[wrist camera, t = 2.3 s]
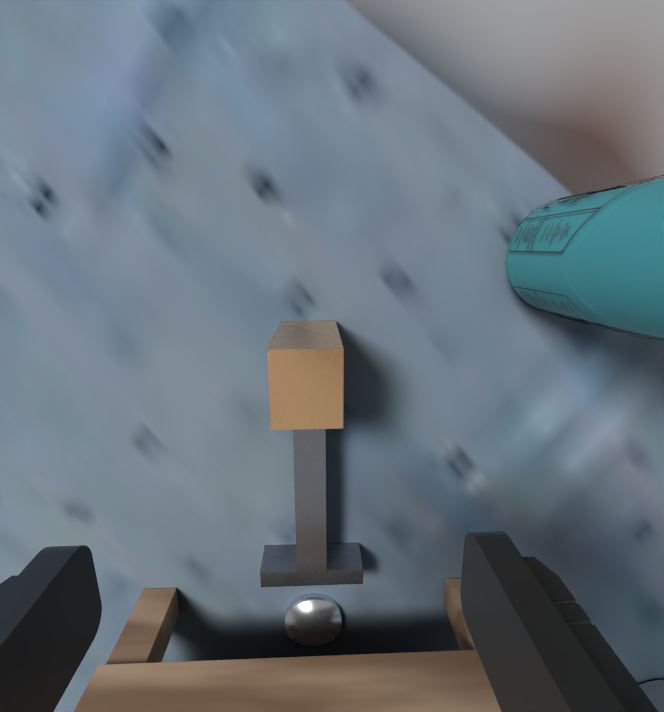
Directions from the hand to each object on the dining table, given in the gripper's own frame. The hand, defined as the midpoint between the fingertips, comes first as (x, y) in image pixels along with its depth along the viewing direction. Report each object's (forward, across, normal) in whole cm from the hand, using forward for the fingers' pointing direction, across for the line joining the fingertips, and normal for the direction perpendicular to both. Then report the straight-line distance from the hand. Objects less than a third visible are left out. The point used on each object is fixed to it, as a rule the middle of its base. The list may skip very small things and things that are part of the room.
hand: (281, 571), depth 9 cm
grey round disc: (+19, 0, +21) cm, 28 cm away
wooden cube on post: (+18, 0, +7) cm, 20 cm away
